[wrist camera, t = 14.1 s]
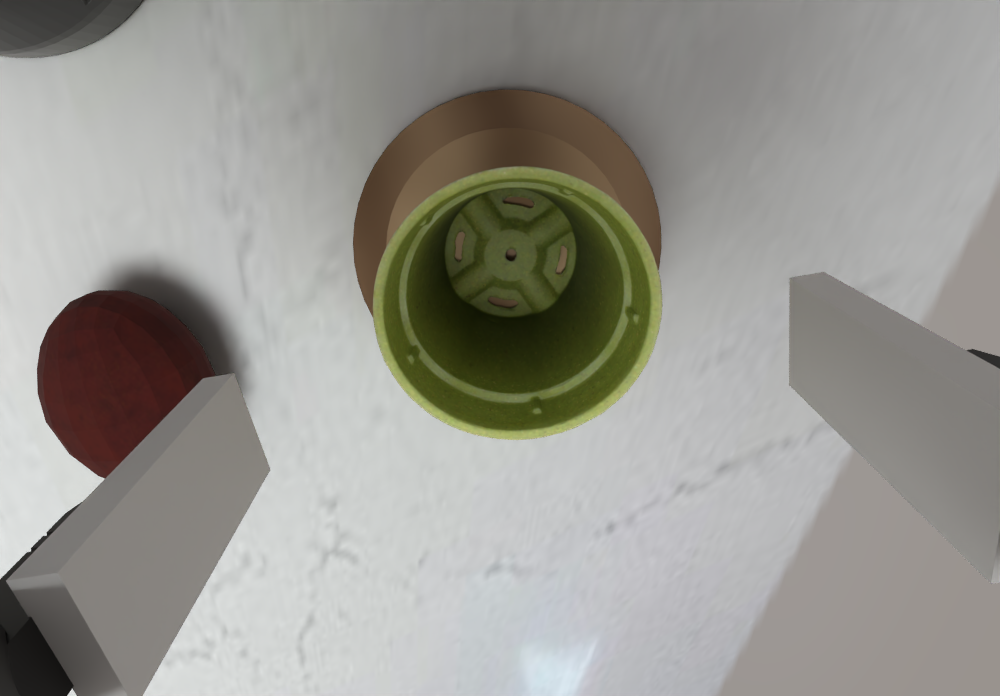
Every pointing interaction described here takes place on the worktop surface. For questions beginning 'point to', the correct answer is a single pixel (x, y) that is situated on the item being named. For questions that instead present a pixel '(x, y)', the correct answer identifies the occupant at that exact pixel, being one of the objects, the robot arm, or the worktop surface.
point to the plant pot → (534, 320)
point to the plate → (495, 166)
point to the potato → (114, 374)
